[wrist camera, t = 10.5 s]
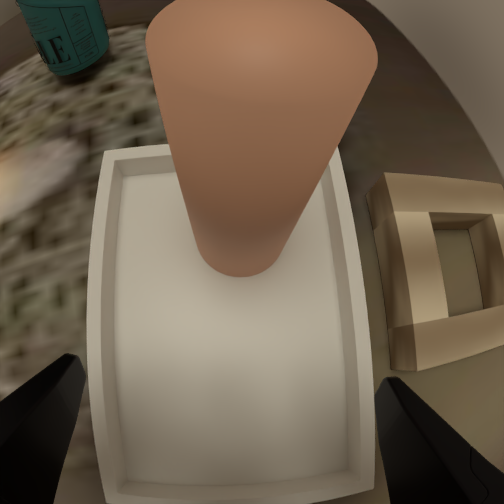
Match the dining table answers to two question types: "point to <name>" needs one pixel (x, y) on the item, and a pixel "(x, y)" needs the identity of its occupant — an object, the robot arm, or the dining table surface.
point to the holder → (436, 266)
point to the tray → (225, 351)
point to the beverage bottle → (66, 32)
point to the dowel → (254, 114)
